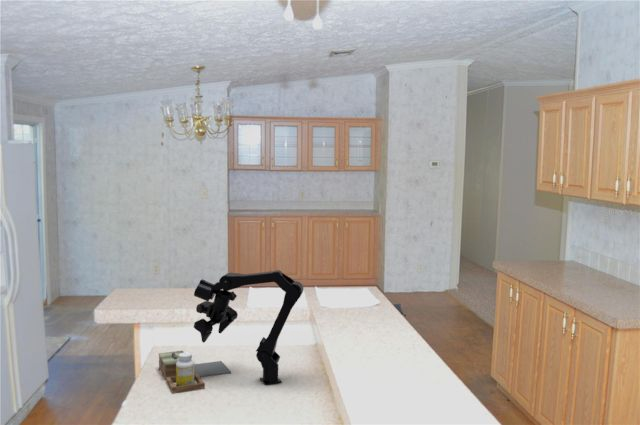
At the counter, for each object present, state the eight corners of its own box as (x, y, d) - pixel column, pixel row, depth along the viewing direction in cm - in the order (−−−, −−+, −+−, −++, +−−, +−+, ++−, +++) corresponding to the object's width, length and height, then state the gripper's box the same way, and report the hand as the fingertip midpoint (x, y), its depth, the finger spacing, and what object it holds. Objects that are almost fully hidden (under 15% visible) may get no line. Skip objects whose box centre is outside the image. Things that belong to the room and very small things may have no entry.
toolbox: (204, 388, 194) (204, 369, 194) (172, 393, 189) (172, 373, 189) (187, 364, 219) (187, 347, 219) (158, 368, 214) (158, 350, 214)
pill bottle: (185, 381, 202) (185, 350, 201) (198, 384, 198) (198, 353, 198) (172, 386, 196) (172, 355, 195) (185, 390, 193) (185, 358, 192)
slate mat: (231, 373, 211) (231, 371, 211) (195, 378, 205) (195, 376, 205) (221, 362, 223) (221, 360, 223) (186, 366, 217) (186, 365, 217)
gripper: (221, 286, 215) (213, 317, 221) (187, 301, 200) (179, 335, 206) (242, 300, 211) (233, 332, 217) (209, 317, 195) (200, 351, 201)
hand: (211, 337), depth 210 cm, fingers open, 9 cm apart
